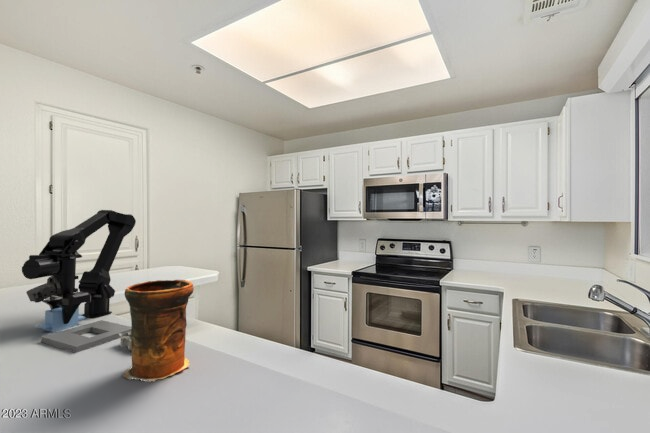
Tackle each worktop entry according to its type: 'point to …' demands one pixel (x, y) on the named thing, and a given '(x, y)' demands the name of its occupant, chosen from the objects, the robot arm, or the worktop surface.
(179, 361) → the vessel
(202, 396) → the worktop surface
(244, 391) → the worktop surface
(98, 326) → the chassis
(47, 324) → the servo
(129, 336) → the egg carton
